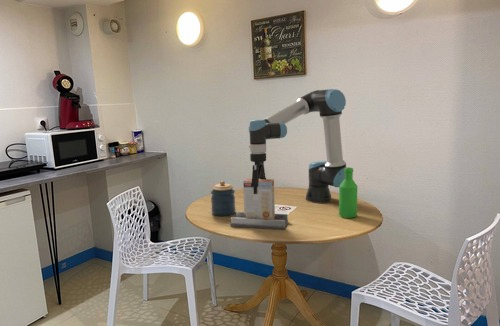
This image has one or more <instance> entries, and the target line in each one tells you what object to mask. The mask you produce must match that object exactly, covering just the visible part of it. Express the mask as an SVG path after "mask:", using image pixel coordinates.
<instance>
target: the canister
mask: <svg viewBox="0 0 500 326" xmlns="http://www.w3.org/2000/svg"><path fill="white" fill-rule="evenodd" d="M211 189H212V190H211V191H210V194H211V197H210V199H211V201H210V202H211V214H212V215H213V216H217V217H227V216H231V215H234V214H236V196H235V192H236V190H235V189H234V186H233V185H232V184H231V183H226V182H225V181H224V180H221V181H220V182H219V183H217V184H215V185H214V186H212V187H211Z"/></svg>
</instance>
